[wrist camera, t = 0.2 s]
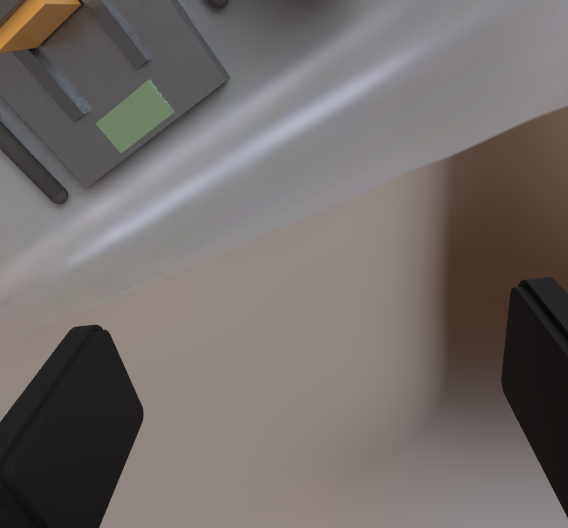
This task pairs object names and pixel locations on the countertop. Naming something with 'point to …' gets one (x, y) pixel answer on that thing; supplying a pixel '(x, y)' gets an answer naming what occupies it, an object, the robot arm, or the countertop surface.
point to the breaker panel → (109, 80)
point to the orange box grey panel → (31, 21)
